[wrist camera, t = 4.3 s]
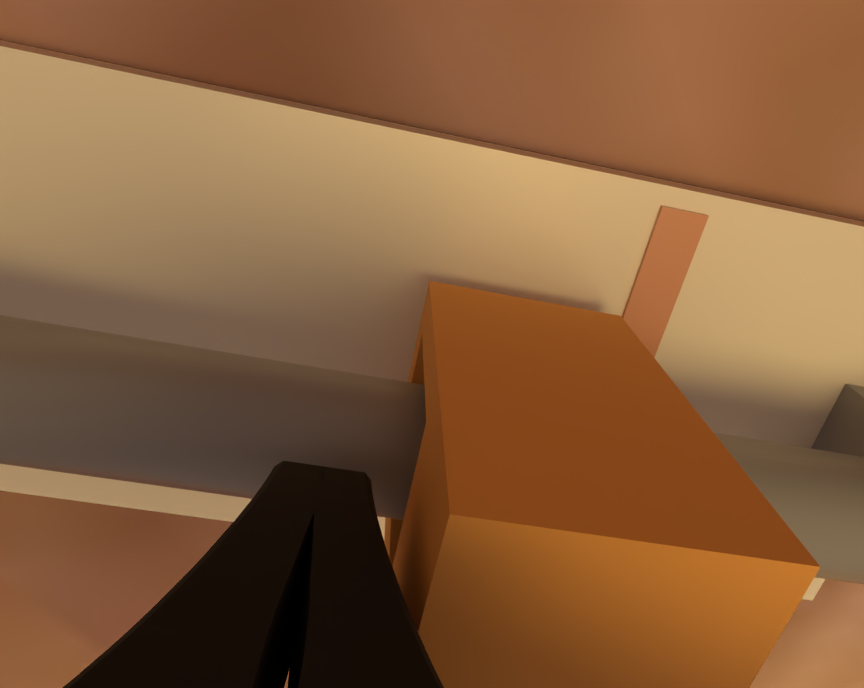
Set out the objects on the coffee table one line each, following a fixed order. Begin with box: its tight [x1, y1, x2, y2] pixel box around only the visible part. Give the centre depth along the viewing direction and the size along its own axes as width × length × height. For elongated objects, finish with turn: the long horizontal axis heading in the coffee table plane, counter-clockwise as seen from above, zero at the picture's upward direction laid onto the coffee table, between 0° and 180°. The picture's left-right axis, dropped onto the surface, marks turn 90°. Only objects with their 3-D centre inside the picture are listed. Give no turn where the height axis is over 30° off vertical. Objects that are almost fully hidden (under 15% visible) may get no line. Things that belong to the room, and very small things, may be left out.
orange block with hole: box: [384, 281, 820, 688], centre depth 11 cm, size 4×5×7 cm
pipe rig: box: [0, 40, 864, 600], centre depth 13 cm, size 27×10×6 cm, turn 78°
